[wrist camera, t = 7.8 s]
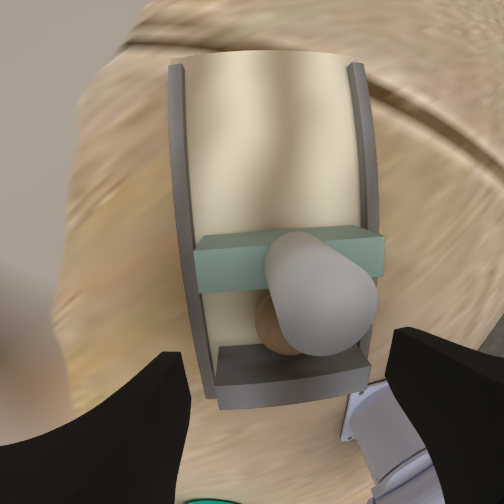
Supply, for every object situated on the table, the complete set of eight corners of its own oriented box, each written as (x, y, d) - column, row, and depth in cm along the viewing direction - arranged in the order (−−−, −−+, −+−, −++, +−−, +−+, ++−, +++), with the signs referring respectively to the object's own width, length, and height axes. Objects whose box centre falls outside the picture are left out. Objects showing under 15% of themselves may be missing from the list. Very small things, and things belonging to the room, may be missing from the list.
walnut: (315, 274, 17) (335, 298, 13) (314, 330, 18) (331, 363, 14) (251, 279, 17) (254, 307, 13) (255, 336, 18) (259, 372, 14)
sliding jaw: (353, 217, 16) (453, 248, 7) (353, 264, 17) (440, 329, 8) (203, 227, 16) (162, 274, 7) (208, 276, 16) (180, 367, 8)
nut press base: (348, 65, 15) (383, 30, 10) (352, 370, 21) (378, 414, 15) (175, 68, 15) (153, 27, 9) (209, 387, 20) (203, 439, 15)
